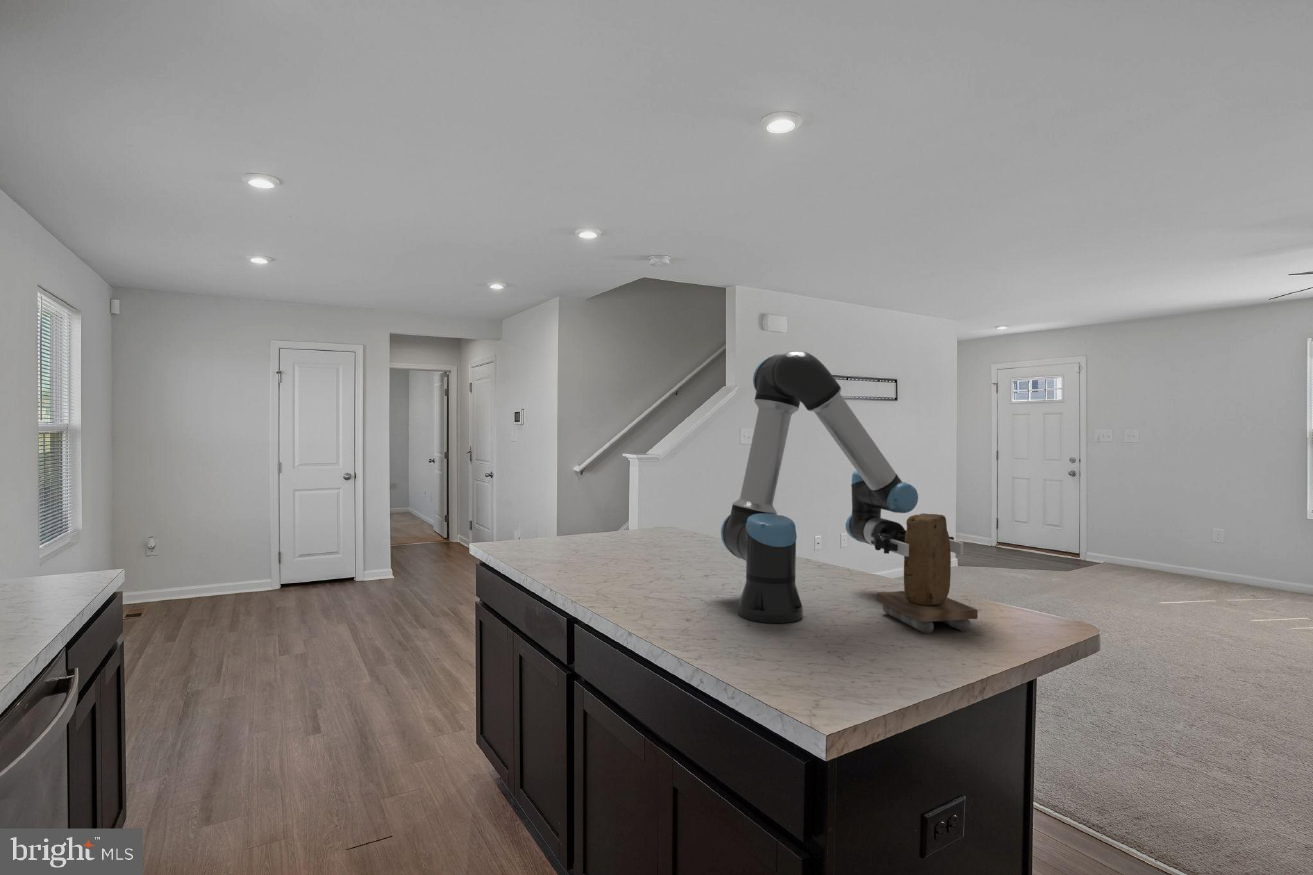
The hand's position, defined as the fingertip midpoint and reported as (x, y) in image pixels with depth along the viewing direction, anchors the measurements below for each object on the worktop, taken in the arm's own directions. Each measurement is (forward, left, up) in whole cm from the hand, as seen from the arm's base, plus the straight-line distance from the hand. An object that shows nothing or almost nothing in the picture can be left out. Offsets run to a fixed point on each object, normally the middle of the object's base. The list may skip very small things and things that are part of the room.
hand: (935, 549), depth 151 cm
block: (0, +3, -13) cm, 13 cm away
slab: (0, +4, -17) cm, 18 cm away
